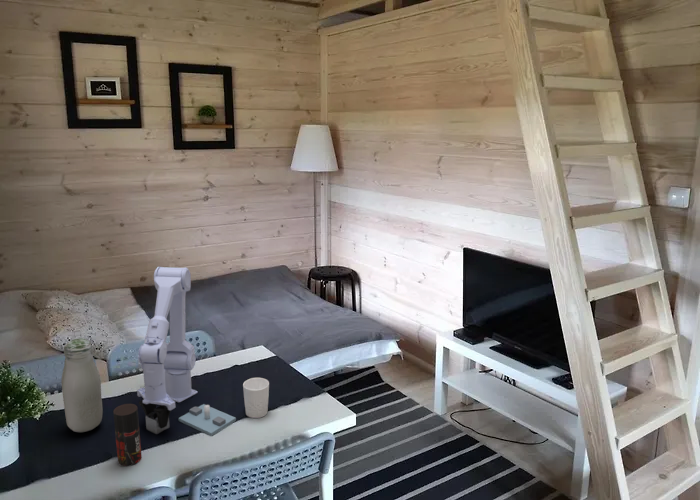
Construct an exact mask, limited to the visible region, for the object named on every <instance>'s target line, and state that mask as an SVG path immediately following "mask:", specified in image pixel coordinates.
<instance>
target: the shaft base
mask: <svg viewBox="0 0 700 500" xmlns="http://www.w3.org/2000/svg"><path fill="white" fill-rule="evenodd" d="M188 410H189V412H186V413H185V414H184V415H181V416H180V417H178V422H180V423H181V424H184V425H186V426H188V427H190V428H193V429H195V430H197V431H199V432H200V433H203V434H206V435H208V436H210V437H213V436H214V435H216V434H218V433H219V432H221V431H223V430H224V429H225V428H226V427H228V426H230V425H232V424H234V423H235V422H236V421H237V418H236V416H232V415H230V414H228V413H226V412H223V411H220V410H218V409H216V408H214V407H211V406H210V404H205V403H203V404H200V405H199V406H193V407H191V408H190V409H188Z"/></svg>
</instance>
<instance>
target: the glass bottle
mask: <svg viewBox="0 0 700 500" xmlns="http://www.w3.org/2000/svg"><path fill="white" fill-rule="evenodd" d="M63 349H64V351H63V355H64V357H65V358H64V366H63V370H62V374H61V393H62V401H63V406H64V408H63V409H64V413H65V419H66V420H65V422H66V426H67V427H68V428H69V429H70V430H71V431H73V432H75V433H85V432H89V431H92V430H94V429H95V428H96V427H98V426H99V425H100V424H101V422H102V419H103V413H104V411H103V400H102V398H103V397H102V381H101V376H100V373H99V370H98V368H97V366H96V363H95V360H94V356H93V352H94V350H93V346H92V343H91V341H90V340H88V338H82V337H81V338H80V337H79V338H76V339H72V340H69V341H68V342H67V343H66V344H65V345H64V347H63Z"/></svg>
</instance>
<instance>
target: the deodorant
mask: <svg viewBox="0 0 700 500" xmlns="http://www.w3.org/2000/svg"><path fill="white" fill-rule="evenodd" d="M112 413H113V421H114V432H115V434H114V435H115V443H116V444H115V445H116V453H117V462H118V465H119V466H121V467H131V466H134V465H136V464H138V463H139V462H141V460H142V456H143V455H142V446H141V445H142V442H141V433H140V431H141V430H140V423H139V420H140V419H139V409H138V405H136V404H134V403H123V404H121V405H118V406H116V407H115V408H114V409H113V412H112Z"/></svg>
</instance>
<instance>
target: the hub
mask: <svg viewBox="0 0 700 500" xmlns="http://www.w3.org/2000/svg"><path fill="white" fill-rule="evenodd" d="M145 426H146V427H145V428H146V430H147V431H149V432H151V433H153V434H155V435H158V434H160V433H162V432H163V431H165V430H167V429H169V428H170V418H169V419H168V423H167V426H165V427H164V428H162V429H161V428H160V426H159V422H158V417H157V414H156V413H155V411H154V412H152V413H150V414H148V415H145Z"/></svg>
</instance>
